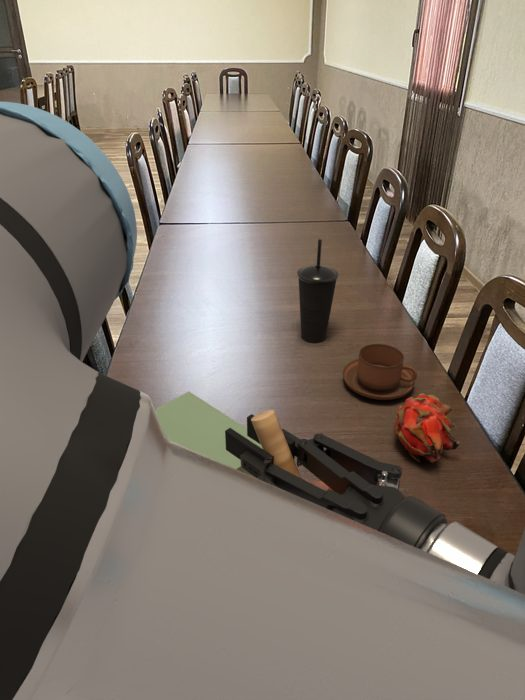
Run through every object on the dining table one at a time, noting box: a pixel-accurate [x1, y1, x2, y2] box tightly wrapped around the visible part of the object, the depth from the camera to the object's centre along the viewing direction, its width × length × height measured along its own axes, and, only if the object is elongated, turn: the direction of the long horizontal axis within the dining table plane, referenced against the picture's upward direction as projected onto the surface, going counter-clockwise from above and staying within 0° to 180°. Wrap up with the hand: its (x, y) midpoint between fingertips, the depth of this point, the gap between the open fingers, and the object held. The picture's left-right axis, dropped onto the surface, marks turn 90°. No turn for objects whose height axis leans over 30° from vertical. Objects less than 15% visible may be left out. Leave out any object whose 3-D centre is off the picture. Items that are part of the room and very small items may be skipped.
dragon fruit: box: [393, 392, 461, 464], centre depth 77 cm, size 8×8×12 cm
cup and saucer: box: [342, 343, 418, 401], centre depth 91 cm, size 12×12×6 cm
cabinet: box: [154, 391, 263, 478], centre depth 72 cm, size 17×12×7 cm
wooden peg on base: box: [251, 409, 332, 491], centre depth 56 cm, size 5×8×13 cm
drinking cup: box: [296, 238, 339, 344], centre depth 101 cm, size 8×8×20 cm
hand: (239, 431), depth 60 cm, fingers closed on wooden peg on base, 3 cm apart
